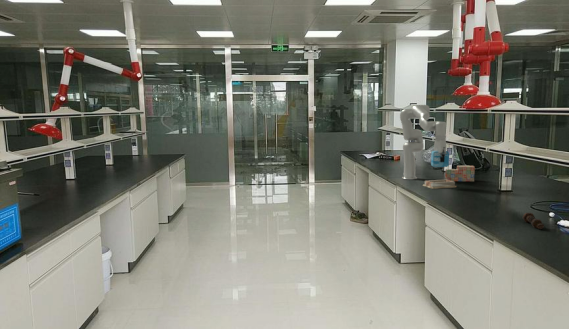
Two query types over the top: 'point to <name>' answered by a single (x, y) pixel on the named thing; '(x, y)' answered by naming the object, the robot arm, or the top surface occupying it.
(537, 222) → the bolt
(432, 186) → the cradle
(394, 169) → the top surface
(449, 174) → the stack of blocks
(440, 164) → the data package
